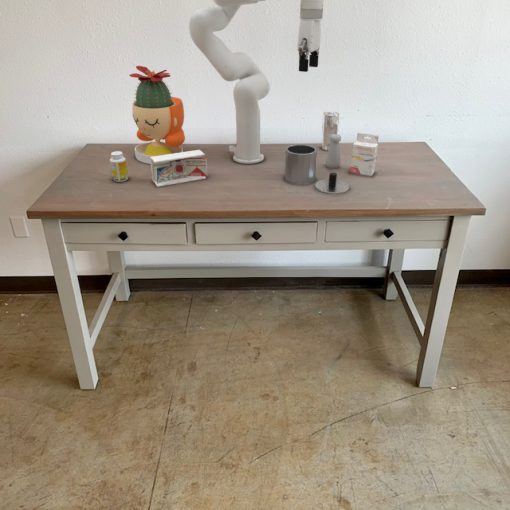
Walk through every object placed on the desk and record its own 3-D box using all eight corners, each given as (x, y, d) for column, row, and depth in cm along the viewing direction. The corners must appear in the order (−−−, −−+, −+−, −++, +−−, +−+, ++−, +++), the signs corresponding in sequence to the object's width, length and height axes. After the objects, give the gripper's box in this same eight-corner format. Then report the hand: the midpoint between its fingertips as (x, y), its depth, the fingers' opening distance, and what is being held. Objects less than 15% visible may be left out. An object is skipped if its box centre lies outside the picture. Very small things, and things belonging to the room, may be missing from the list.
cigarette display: (156, 187, 172) (154, 161, 167) (152, 181, 177) (149, 156, 172) (209, 177, 180) (208, 153, 175) (204, 172, 184) (202, 149, 179)
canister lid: (310, 191, 169) (310, 176, 166) (321, 180, 178) (322, 165, 175) (343, 198, 164) (344, 182, 161) (353, 185, 173) (354, 171, 170)
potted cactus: (166, 168, 188) (157, 74, 170) (124, 157, 198) (111, 67, 180) (199, 152, 204) (194, 64, 186) (159, 143, 214) (151, 59, 196)
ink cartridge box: (349, 173, 183) (353, 135, 176) (352, 169, 187) (356, 132, 179) (371, 177, 180) (376, 138, 172) (374, 173, 184) (379, 135, 176)
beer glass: (337, 151, 205) (340, 115, 198) (321, 151, 205) (323, 115, 198) (335, 145, 211) (338, 111, 204) (319, 145, 211) (322, 111, 204)
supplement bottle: (130, 176, 180) (126, 150, 175) (126, 182, 176) (122, 155, 170) (115, 176, 181) (111, 150, 175) (111, 182, 176) (106, 155, 170)
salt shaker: (339, 170, 186) (342, 137, 179) (324, 169, 187) (327, 136, 180) (340, 165, 191) (343, 133, 184) (325, 164, 192) (328, 132, 185)
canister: (280, 181, 176) (281, 151, 170) (291, 172, 185) (293, 142, 179) (308, 187, 172) (310, 156, 166) (318, 176, 181) (321, 147, 175)
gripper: (310, 12, 168) (307, 64, 177) (290, 16, 155) (288, 72, 164) (330, 13, 166) (326, 66, 174) (312, 17, 152) (309, 74, 161)
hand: (308, 69), depth 169 cm, fingers open, 9 cm apart
